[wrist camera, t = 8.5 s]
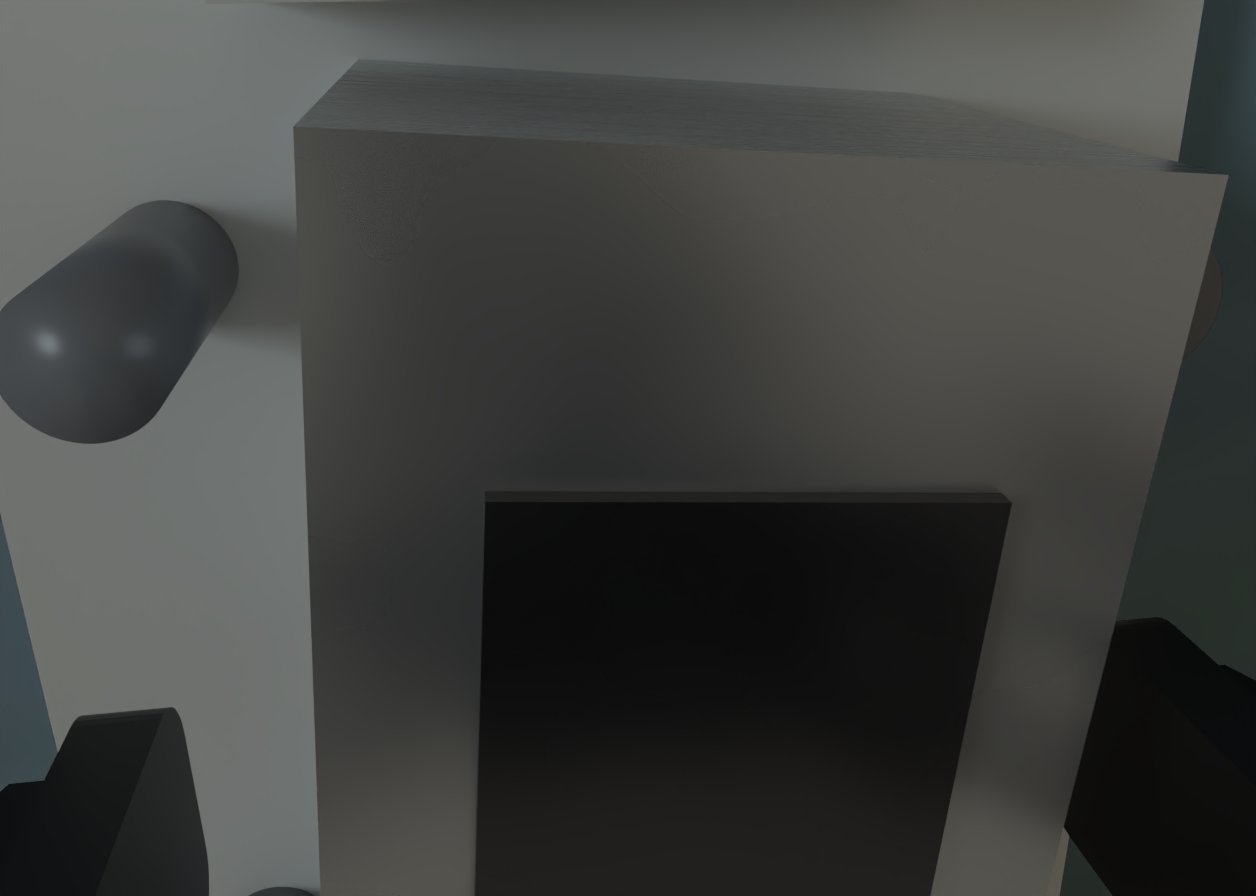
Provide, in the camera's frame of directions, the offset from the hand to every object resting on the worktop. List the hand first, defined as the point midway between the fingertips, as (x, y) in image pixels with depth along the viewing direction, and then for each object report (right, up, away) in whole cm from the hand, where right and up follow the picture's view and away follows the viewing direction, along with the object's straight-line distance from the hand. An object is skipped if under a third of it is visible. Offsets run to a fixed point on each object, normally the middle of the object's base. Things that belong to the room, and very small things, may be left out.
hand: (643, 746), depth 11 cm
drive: (0, +1, +2) cm, 3 cm away
